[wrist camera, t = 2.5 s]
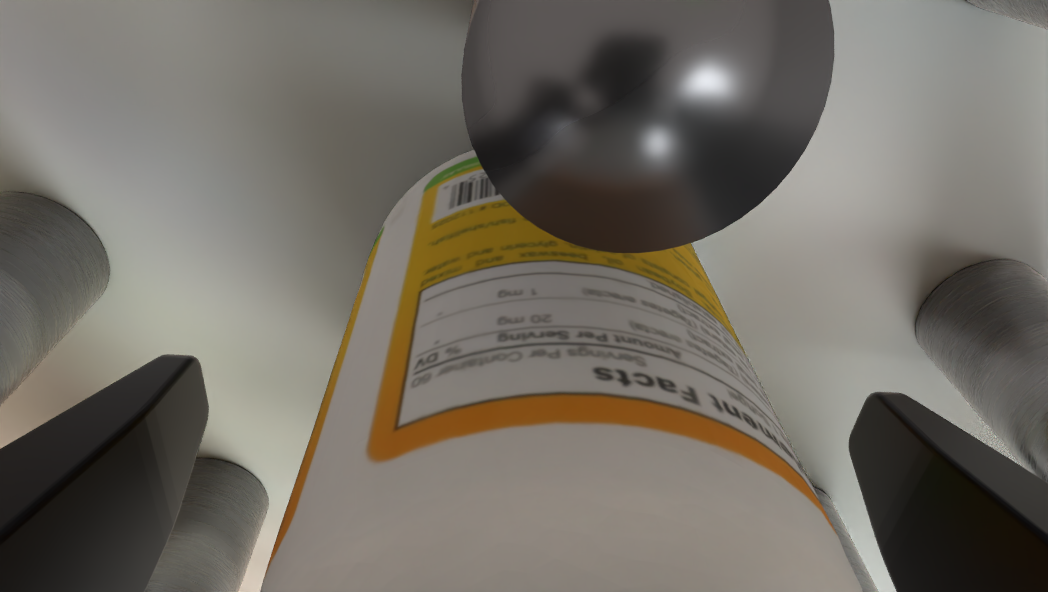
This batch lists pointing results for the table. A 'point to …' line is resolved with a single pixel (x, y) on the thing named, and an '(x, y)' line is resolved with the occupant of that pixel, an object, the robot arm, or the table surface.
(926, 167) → the table surface
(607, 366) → the supplement bottle
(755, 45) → the spacer field
